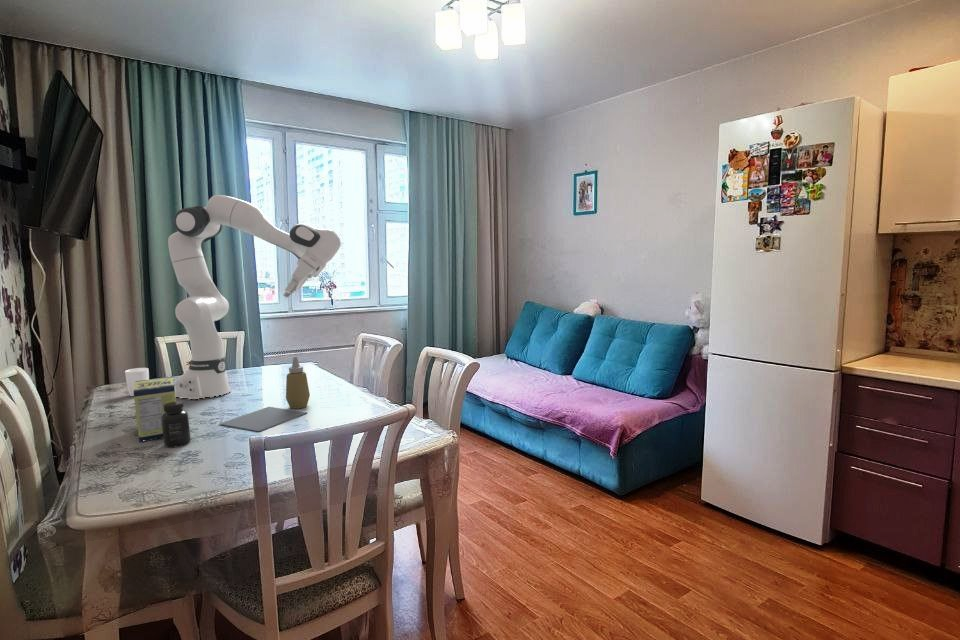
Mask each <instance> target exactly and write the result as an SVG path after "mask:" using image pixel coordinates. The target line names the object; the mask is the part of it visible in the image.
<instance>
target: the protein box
mask: <svg viewBox="0 0 960 640" xmlns="http://www.w3.org/2000/svg"><path fill="white" fill-rule="evenodd" d="M176 399H177V398H176V396H175V383H174V376H167V377H160V378H152V379H150V378H149V380H141V381H135V386H134V397H133V400H134V406H135V416H136V423H137V424H136V425H137V433H138V442H139V441H143V440H149V441H151V440H150V439H155V438H160V439H162V438H161V437H163V432H162V423H161V417H162V415H163V414H164V413H165V412H164V405H165V404H167V403H170V402H177V400H176ZM155 440H156V439H155Z"/></svg>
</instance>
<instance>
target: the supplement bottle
mask: <svg viewBox="0 0 960 640" xmlns="http://www.w3.org/2000/svg"><path fill="white" fill-rule="evenodd" d="M184 409H185V408H184V402H183V401H180V400H179V401H176V402H170V403H167V404H165V405H164V412H165V413H164V414H163V415H162V417H161V423H162V432H163V438H162V441H163V446H164V447H166V446H167V447H166V448H176V447H175V446H179V447H182V446H181V445H183V446H185V445H184V444H186V445H188V444H189V443H190V442H191V440H192V436H191V429H190V428H191V427H190V418H189V413H188V412H187V410H184ZM187 443H188V444H187Z"/></svg>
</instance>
